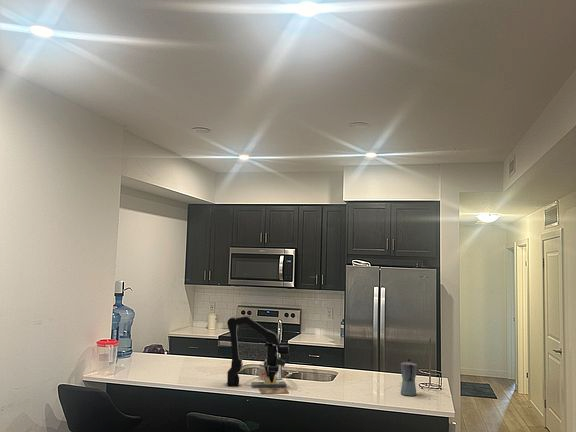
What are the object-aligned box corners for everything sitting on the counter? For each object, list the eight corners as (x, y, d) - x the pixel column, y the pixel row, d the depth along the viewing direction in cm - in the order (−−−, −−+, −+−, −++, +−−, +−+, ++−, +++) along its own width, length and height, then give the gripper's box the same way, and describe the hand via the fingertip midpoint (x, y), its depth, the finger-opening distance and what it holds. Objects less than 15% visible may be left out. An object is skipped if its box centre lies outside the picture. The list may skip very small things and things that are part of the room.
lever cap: (266, 383, 315) (266, 377, 316) (264, 381, 320) (265, 375, 320) (276, 383, 316) (276, 377, 317) (274, 381, 321) (275, 375, 321)
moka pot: (413, 391, 317) (414, 357, 319) (420, 398, 302) (421, 362, 303) (397, 391, 317) (398, 356, 318) (404, 398, 301) (404, 361, 303)
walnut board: (261, 393, 300) (261, 393, 300) (258, 389, 310) (258, 388, 310) (289, 393, 303) (289, 392, 303) (285, 389, 313) (285, 388, 313)
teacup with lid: (256, 378, 337) (257, 360, 338) (262, 376, 345) (263, 357, 346) (273, 381, 332) (274, 362, 333) (279, 378, 341) (280, 359, 342)
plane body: (252, 388, 312) (253, 379, 313) (251, 385, 319) (251, 376, 320) (286, 387, 316) (286, 379, 317) (284, 385, 323) (284, 376, 323)
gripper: (287, 356, 312) (286, 384, 311) (281, 351, 330) (281, 377, 329) (268, 356, 310) (267, 384, 308) (264, 351, 328) (263, 377, 327)
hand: (270, 380), depth 318 cm, fingers open, 9 cm apart
